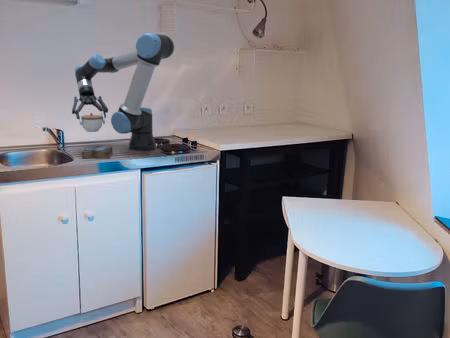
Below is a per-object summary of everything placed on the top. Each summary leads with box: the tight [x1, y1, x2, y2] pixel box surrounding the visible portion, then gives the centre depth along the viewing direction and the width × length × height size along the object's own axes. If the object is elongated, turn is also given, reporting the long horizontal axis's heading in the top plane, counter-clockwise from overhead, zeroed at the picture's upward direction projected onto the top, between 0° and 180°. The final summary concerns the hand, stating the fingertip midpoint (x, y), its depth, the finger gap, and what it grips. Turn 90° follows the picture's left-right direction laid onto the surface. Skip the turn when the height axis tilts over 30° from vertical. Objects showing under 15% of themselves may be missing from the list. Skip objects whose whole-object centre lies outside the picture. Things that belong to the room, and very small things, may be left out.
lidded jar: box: [81, 112, 103, 133], centre depth 214 cm, size 11×11×9 cm
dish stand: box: [81, 144, 113, 159], centre depth 213 cm, size 13×13×4 cm
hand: (92, 122), depth 211 cm, fingers closed on lidded jar, 11 cm apart
